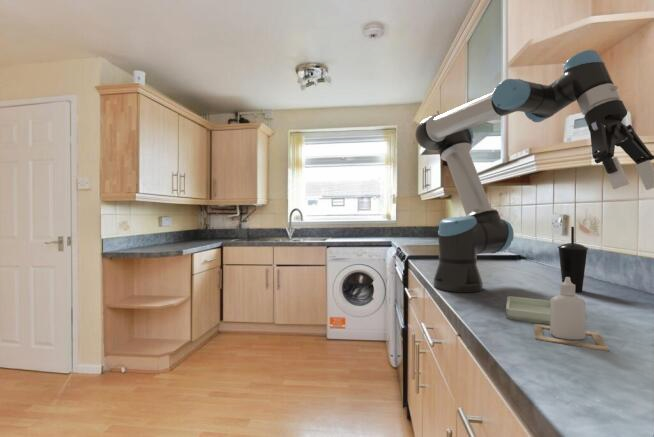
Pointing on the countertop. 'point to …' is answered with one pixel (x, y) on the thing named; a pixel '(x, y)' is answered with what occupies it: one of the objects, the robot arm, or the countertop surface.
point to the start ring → (596, 337)
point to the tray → (528, 309)
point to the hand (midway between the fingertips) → (638, 187)
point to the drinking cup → (573, 262)
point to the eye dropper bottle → (568, 313)
